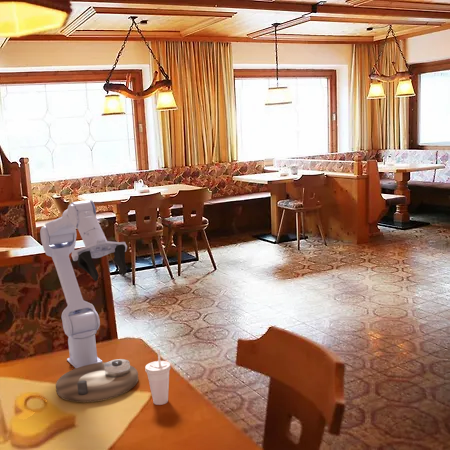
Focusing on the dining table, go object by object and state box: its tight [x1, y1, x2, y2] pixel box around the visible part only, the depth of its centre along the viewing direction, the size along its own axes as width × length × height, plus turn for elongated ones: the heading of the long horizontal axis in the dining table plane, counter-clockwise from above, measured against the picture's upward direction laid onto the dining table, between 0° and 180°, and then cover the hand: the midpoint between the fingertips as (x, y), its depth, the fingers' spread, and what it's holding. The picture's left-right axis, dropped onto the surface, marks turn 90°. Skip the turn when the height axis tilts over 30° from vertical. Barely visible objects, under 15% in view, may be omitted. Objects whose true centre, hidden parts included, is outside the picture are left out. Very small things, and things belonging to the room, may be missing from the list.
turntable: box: [55, 361, 139, 403], centre depth 161 cm, size 22×22×4 cm
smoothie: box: [144, 348, 171, 406], centre depth 149 cm, size 6×6×14 cm
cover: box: [104, 358, 131, 377], centre depth 164 cm, size 7×7×3 cm
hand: (111, 275), depth 150 cm, fingers open, 7 cm apart
